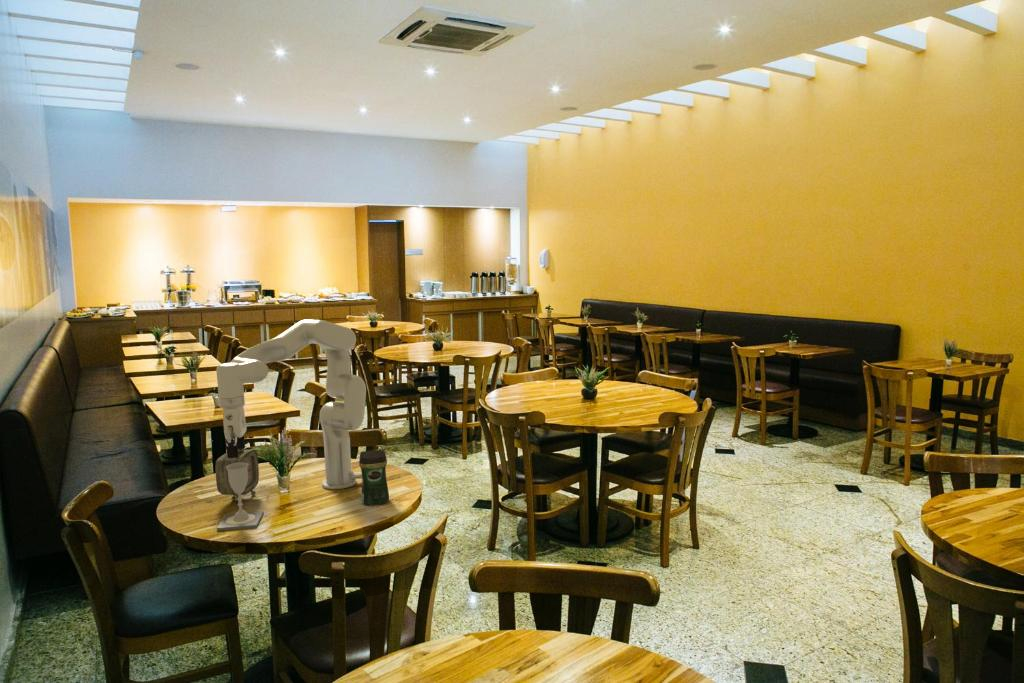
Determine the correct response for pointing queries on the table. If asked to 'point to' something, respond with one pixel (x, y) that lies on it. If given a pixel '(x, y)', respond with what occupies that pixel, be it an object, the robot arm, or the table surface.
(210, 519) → the table surface
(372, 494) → the coffee jar
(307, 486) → the table surface
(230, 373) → the robot arm
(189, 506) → the table surface
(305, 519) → the table surface
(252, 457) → the tabletop clock
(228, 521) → the plate
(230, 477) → the chalice
